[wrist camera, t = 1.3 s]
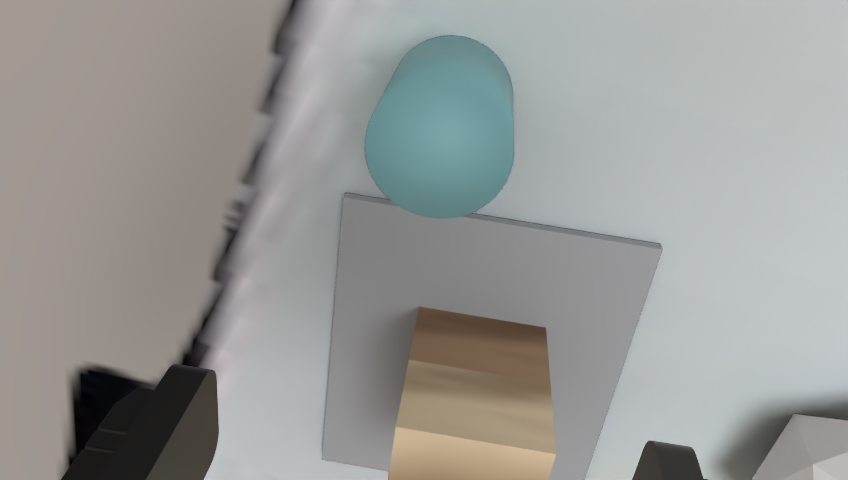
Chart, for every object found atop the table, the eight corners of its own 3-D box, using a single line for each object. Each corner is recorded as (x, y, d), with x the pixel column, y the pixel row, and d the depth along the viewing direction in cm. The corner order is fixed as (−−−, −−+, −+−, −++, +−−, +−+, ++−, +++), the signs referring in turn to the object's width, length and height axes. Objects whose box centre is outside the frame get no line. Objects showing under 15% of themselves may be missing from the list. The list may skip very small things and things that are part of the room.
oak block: (408, 359, 30) (395, 426, 26) (550, 383, 30) (556, 454, 26) (393, 461, 33) (380, 534, 29) (522, 484, 33) (524, 559, 29)
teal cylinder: (397, 26, 28) (371, 66, 23) (524, 46, 28) (527, 91, 22) (384, 144, 30) (358, 206, 25) (500, 163, 30) (499, 229, 25)
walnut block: (419, 306, 33) (408, 359, 30) (546, 327, 33) (550, 383, 30) (404, 402, 36) (393, 461, 33) (520, 422, 36) (522, 484, 33)
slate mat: (345, 192, 31) (342, 197, 31) (660, 243, 31) (662, 249, 31) (323, 452, 39) (321, 459, 39) (575, 496, 39) (576, 503, 38)
